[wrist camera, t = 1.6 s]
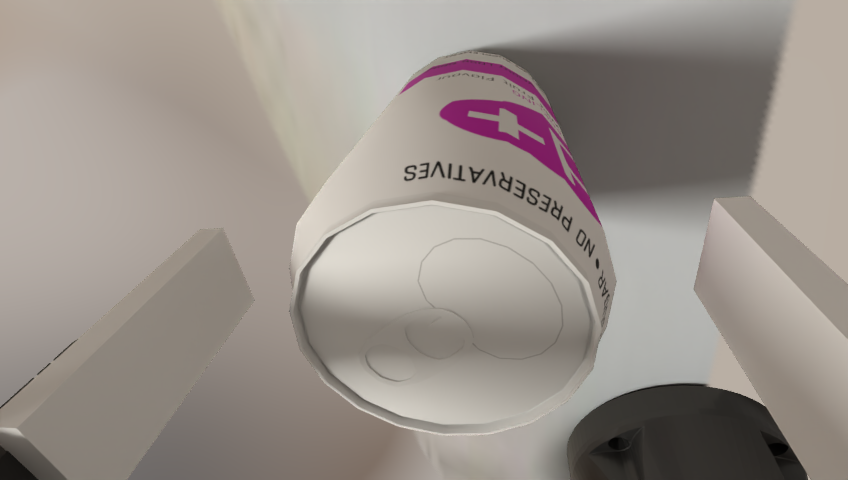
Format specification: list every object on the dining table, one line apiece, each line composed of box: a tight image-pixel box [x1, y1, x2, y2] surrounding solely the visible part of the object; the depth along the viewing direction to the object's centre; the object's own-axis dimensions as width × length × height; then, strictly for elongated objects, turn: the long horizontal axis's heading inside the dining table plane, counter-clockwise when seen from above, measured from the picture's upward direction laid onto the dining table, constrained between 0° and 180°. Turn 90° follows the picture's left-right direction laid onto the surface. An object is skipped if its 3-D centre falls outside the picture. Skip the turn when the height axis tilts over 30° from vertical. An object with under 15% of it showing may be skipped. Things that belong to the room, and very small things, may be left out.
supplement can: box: [289, 50, 616, 436], centre depth 16 cm, size 8×8×15 cm
